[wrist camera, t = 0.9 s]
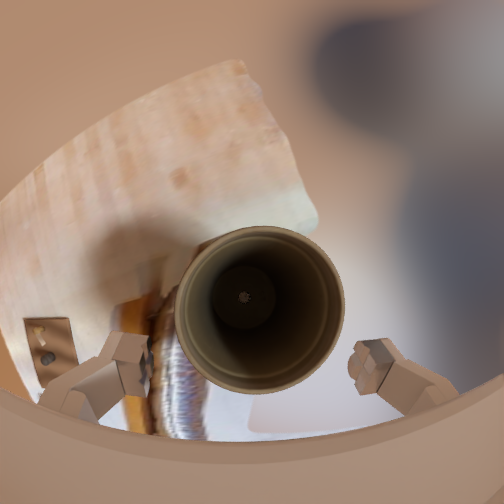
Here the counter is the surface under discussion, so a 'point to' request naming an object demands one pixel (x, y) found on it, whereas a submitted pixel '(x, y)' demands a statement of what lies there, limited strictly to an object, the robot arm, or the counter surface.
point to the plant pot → (259, 310)
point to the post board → (51, 347)
